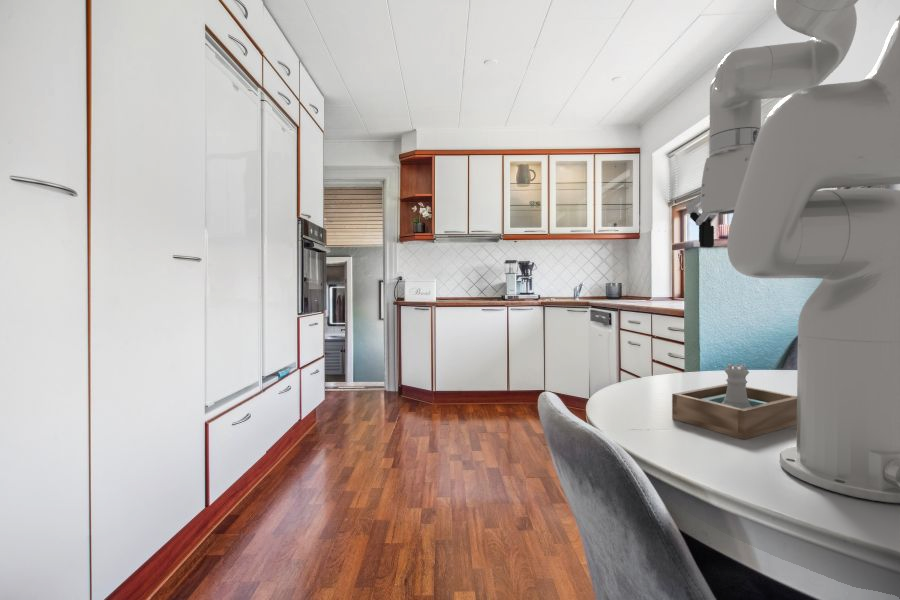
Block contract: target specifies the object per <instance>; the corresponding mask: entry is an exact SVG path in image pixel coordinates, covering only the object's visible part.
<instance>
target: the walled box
mask: <svg viewBox="0 0 900 600" xmlns="http://www.w3.org/2000/svg"><path fill="white" fill-rule="evenodd" d="M726 392H727V383H723V384H719V385H714V386H712V385H711V386H707V387H704V388H703V387H702V388H696V389H692V390H686V391H681V392H676V393H672V395H671V397H672V400H671V406H672V407H671V408H672V409H671V417H672V418H671V419H672V420H675V421H679V422H682V423H685V424H689V425H692V426H695V427H699V428H703V429H706V430H709V431H713V432H715V433H718V434H719V433H721V434H723V435H727V436H730V437H734V438H736V439H740V440H744V441H745V440H748V439H752V438H754V437H759V436H762V435H765V434H768V433H769V434H770V433H773V432H775V431H779V430H783V429H786V428H790V427H792V426H797V395H792V394H787V393H783V392H782V393H781V392H777V391H771V390H766V389H761V388H757V387H756V388H755V387H750V386H746V393H747V398H748V401H750V402H749V404H750V405H751V406H752V407H747V408H739V407H735V406H730V405H726V404H722V402H723V401H724V398H725V396H726Z"/></svg>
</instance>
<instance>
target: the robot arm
mask: <svg viewBox="0 0 900 600" xmlns="http://www.w3.org/2000/svg"><path fill="white" fill-rule="evenodd" d="M858 1H859V0H774V3H773V5H774V11H775V13H776V15H777V18H778V19H779V20H780V21H781V23H782V24H784V25H785V26H786V27H787V28H789V29H791V30H793V31H794V32H797V33H799V34H802V35H805V36H808V37H810V39H809V40H807V41H800V42H790V43H782V44H780V43H779V44H771V45H764V46H755V47H746V48H739V49H736V50H733V51H730V52H729V53H727V54H726V55H725V56H724V58H723V59H722V60H721V62H720V63H719V64H718V65H717V68H716V71H715V74H714V79H713V80H712V82H711V83H710V86H709V141H708V142H709V144H708V146H709V152H708V153H709V155H708V157H707V158H706V159H705V163H704V168H703V171H702V178H701V188H700V194H699V195H698V196H696V197H695V198H693V199H692V200H690V201H689V202H688V203H686V205H685V209H686V211H687V213H688V215H689V218H690V220H692V221H693V222H694V223H695V225H696V226H698V243H699V247H700V248H713V247H715V246H714V245H715V226H714V225H712V224H713V222H714V220H715V219H716V217H717V216H718V215H730V214H732V217H731V220H730V224H729V229H728V234H727V235H728V236H727V242H726V243H727V244H726V245H727V247H726V248H727V249H726V250H727V255H728V259H729V262H730V263H731V266H732V267H733V268H734V269H735V270H736V271H737V272H738V273H740V274H742V275H744V276H747V277H751V278H757V279H822V280H821V281H820V283H819V284H818V286H816V288H815V290H813V292H812V293H811V294H810V296H809V297H808V298H807V300H806V301H805V303H804V305H803V306H802V308H801V310H800V313H799V317H798V321H797V323H798V324H797V377H796V378H797V379H796V380H797V381H796V384H797V387H796V388H797V389H796V391H797V392H796V396H797V425H796V446H794V447H793V446H792V447H789V448H788V447H787V448H786V449H783V450H782V451H781V452H780V453H779V464H780V467H782V469H784V470H785V471H786V472H787V473H789V474H790V475H792V476H793V477H795V478H797V479H800V481H801V480H802V481H804V482H806V483H807V484H811V485H812V486H813V485H814V486H816V487H819V488H822V489H824V490H828V491H831V492H835V493H837V494H840V495H845V496H849V497H853V498H859V499H864V500H869V501H874V502H876V501H877V502H883V503H893V504H900V190H899V189H893V188H883V187H879V186H891V185H900V15H898V17H897V18H896V19H895V21H894V23H893V25H892V27H891V29H890V31H889V34H888V36H887V37H886V40H885V43H884V46H883V48H882V51H881V53H880V56H879V57H878V59H877V61H876V63H875V65H874V66H873V68H872V70H871V71H870V73H869V74H868V75H866V77H864V78H863V79H861V80H859V81H850V82H849V81H847V82H839V83H827V84H822V83H823V82H824V81H825V80H826V79H827V78H828V77H829V76H830V75H831V74H832V73H833V72H834V71H835V70H836V69H837V68H838V67H839V66H840V65H841V64H842V62H843V61H844V60H845V58H846V57H847V54H848V53H849V51H850V49H851V46H852V43H853V40H854V39H855V38H854V37H855V34H856V31H857V21H858V17H857V9H856V4H857V3H858ZM779 98H781V100H779V102H778V103H777V104H776V105H775V106H774V107H773V108H772V109H771V111H770V112H769V113H768V115H767V116H766V117H765V119H764V120H763V123H762V100H768V99H779ZM875 186H877V187H875ZM857 187H858V188H857ZM859 187H860V188H859ZM699 207H700V209H701V213H700V211H699Z"/></svg>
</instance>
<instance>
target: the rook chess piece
mask: <svg viewBox="0 0 900 600" xmlns="http://www.w3.org/2000/svg"><path fill="white" fill-rule="evenodd" d="M724 372H725V373H726V375H727V378H726V379H725V381H726V382H727V383H726V384H727V392H726V396H725V398H724V401H723V402H722V404H726V405H730V406H735V407H739V408H747V407H752V406H751V405H750V404H749V402H750V401H748V398H747V393H746V387H747V383H748V381H747V376H748V375H749V374H750V371H749V370H748V369H747V365H745V364H739V363H736V364H735V365H734V363H728V364H727V365H726V368H725V369H724Z"/></svg>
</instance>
